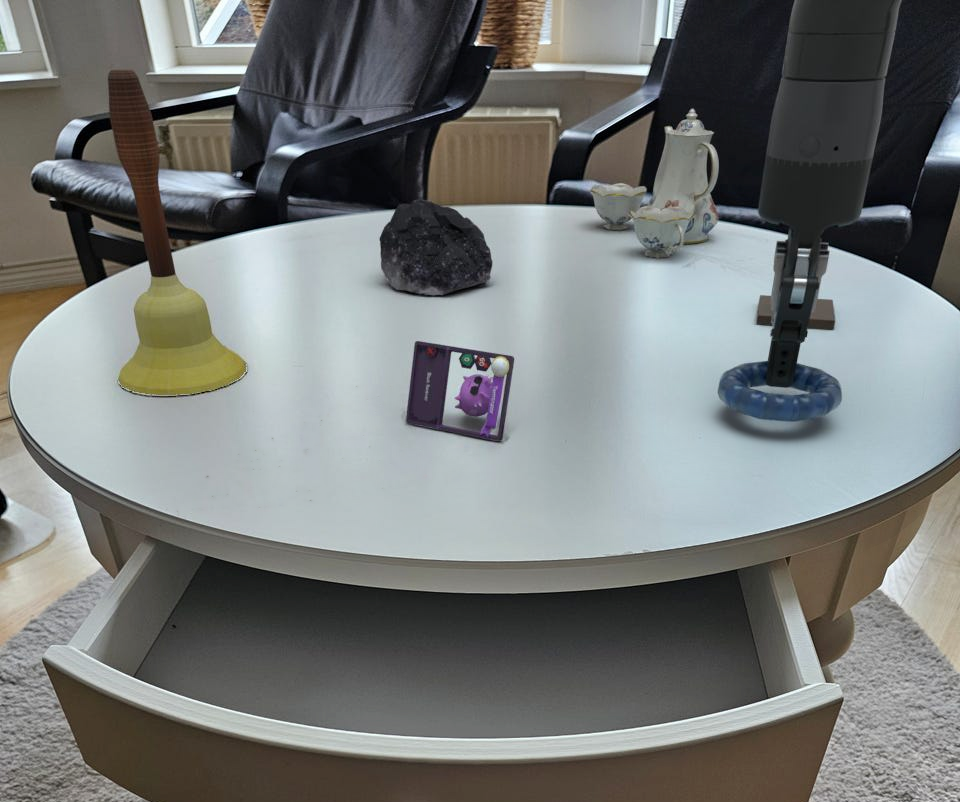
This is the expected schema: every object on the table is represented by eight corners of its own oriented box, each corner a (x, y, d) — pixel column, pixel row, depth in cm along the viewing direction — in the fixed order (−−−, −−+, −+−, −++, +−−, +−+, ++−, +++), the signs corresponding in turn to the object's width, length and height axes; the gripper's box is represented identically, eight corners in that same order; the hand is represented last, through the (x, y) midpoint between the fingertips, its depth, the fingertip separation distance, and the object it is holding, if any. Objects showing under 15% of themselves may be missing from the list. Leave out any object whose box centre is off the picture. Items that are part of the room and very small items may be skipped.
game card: (410, 340, 74) (509, 355, 71) (440, 343, 79) (534, 358, 76) (401, 422, 77) (496, 441, 73) (430, 421, 81) (521, 439, 78)
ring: (836, 386, 77) (841, 362, 76) (841, 430, 69) (846, 405, 68) (720, 377, 79) (723, 354, 78) (713, 419, 71) (716, 394, 70)
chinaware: (571, 233, 141) (566, 112, 131) (669, 214, 144) (671, 93, 134) (651, 278, 120) (652, 137, 109) (764, 254, 122) (775, 115, 112)
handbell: (114, 361, 91) (41, 68, 76) (238, 346, 94) (191, 62, 80) (120, 404, 81) (38, 79, 67) (258, 386, 85) (208, 72, 70)
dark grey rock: (507, 296, 111) (512, 206, 106) (401, 299, 106) (401, 205, 101) (467, 279, 121) (470, 196, 116) (370, 281, 117) (368, 195, 112)
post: (830, 308, 103) (853, 203, 96) (833, 329, 97) (857, 218, 90) (758, 303, 105) (775, 199, 98) (756, 324, 98) (774, 214, 92)
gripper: (881, 166, 60) (827, 414, 70) (868, 137, 71) (823, 356, 81) (764, 163, 62) (728, 406, 72) (769, 135, 73) (737, 350, 83)
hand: (778, 378), depth 77 cm, fingers closed on ring, 2 cm apart
